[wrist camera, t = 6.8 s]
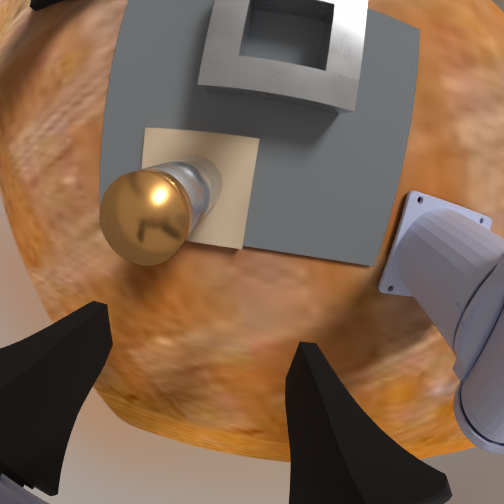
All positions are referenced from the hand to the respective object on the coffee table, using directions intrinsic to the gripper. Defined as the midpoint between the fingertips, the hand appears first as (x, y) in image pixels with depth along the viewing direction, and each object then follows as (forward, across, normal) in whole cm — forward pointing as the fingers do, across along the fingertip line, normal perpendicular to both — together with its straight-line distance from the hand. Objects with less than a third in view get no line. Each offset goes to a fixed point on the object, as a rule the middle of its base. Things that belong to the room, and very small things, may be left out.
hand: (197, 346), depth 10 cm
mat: (+10, 0, -9) cm, 14 cm away
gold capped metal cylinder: (+9, +2, -4) cm, 10 cm away
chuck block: (+10, -1, -14) cm, 17 cm away
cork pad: (+10, +3, -3) cm, 11 cm away
